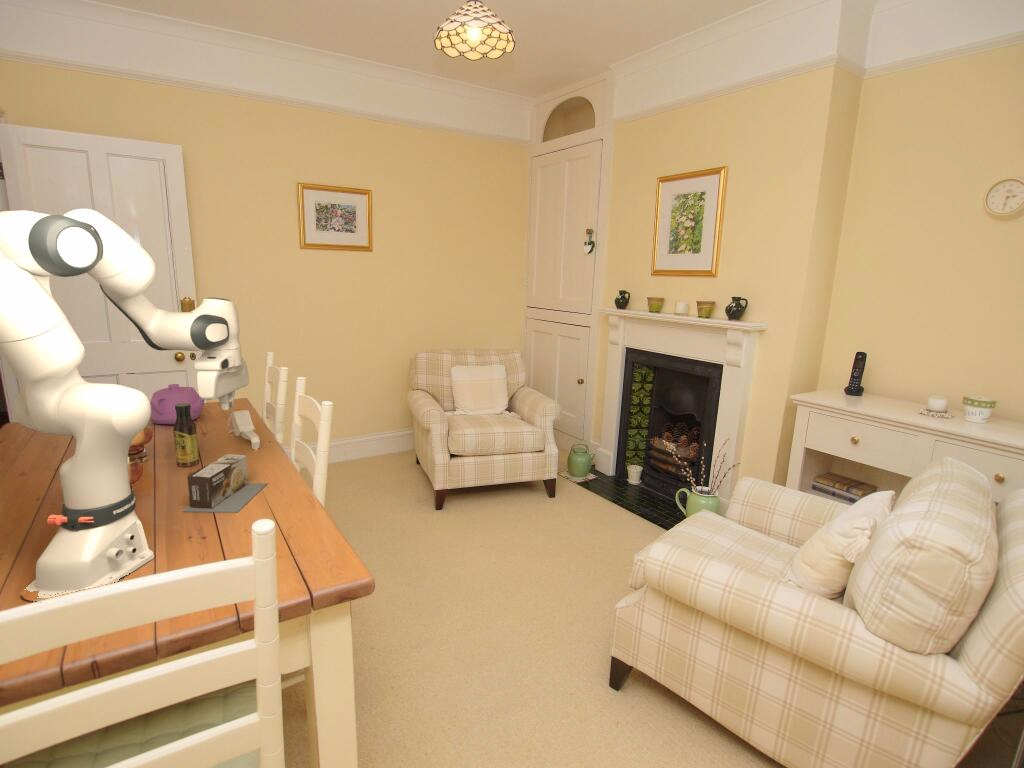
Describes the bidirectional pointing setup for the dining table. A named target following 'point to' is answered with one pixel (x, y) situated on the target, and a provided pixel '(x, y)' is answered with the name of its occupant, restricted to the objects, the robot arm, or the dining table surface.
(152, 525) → the dining table surface
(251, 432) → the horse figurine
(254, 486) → the mat
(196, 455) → the sauce bottle
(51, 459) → the dining table surface
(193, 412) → the teapot
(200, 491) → the coffee box
